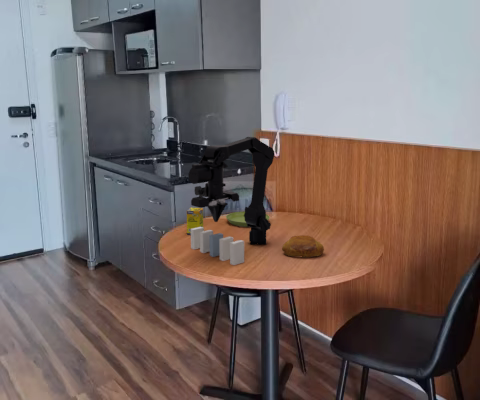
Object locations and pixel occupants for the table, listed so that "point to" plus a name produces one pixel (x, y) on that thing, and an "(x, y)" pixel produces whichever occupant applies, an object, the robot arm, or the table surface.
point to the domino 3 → (215, 244)
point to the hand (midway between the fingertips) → (215, 221)
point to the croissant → (302, 246)
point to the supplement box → (194, 219)
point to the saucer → (239, 219)
